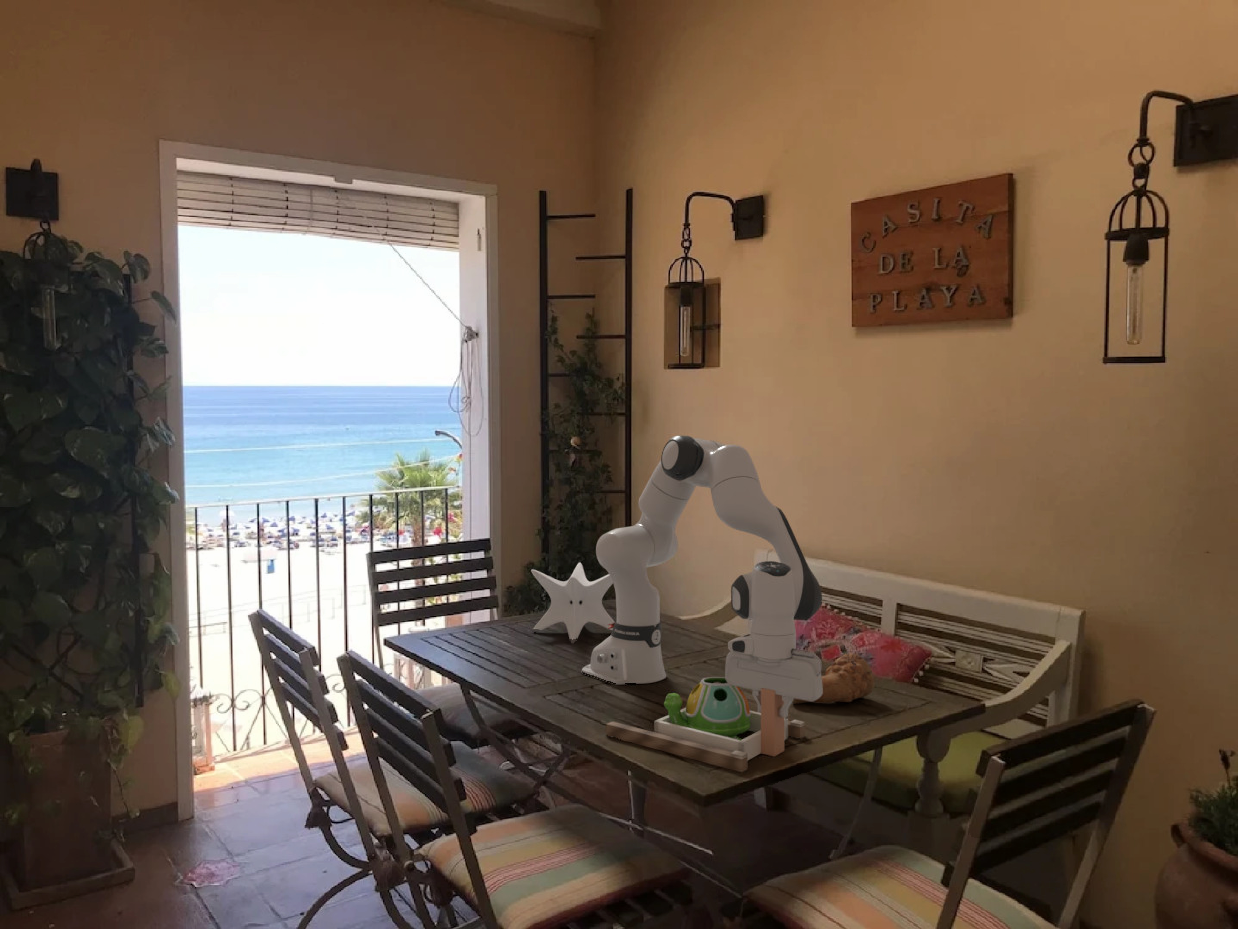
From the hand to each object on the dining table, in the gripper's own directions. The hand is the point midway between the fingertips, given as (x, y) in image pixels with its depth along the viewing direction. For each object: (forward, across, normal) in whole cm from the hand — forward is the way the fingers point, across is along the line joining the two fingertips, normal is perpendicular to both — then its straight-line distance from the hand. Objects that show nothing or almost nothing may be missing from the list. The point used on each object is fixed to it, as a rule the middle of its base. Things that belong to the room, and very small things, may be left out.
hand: (772, 714), depth 184 cm
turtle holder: (+8, +15, 0) cm, 17 cm away
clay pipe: (+8, +6, -39) cm, 40 cm away
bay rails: (+8, +16, 0) cm, 18 cm away
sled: (+8, +10, 0) cm, 13 cm away
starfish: (+8, +99, -54) cm, 113 cm away
